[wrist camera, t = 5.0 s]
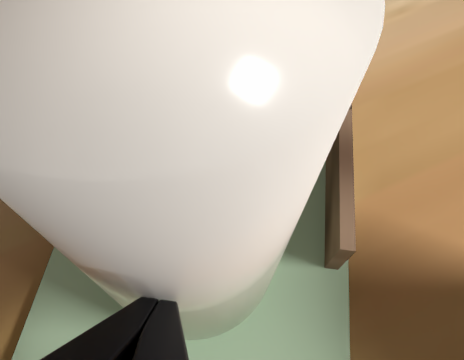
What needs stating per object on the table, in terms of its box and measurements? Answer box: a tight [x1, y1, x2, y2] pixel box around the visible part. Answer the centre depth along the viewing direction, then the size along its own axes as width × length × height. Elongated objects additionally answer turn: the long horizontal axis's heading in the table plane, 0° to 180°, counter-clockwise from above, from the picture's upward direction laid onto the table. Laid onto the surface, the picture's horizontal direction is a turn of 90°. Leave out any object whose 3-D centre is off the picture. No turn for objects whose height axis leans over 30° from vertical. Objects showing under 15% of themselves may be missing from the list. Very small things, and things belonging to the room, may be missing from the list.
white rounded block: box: [0, 0, 385, 340], centre depth 11 cm, size 7×7×13 cm
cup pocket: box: [324, 103, 356, 270], centre depth 18 cm, size 8×12×2 cm, turn 82°
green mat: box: [12, 161, 350, 360], centre depth 16 cm, size 21×13×1 cm, turn 172°
